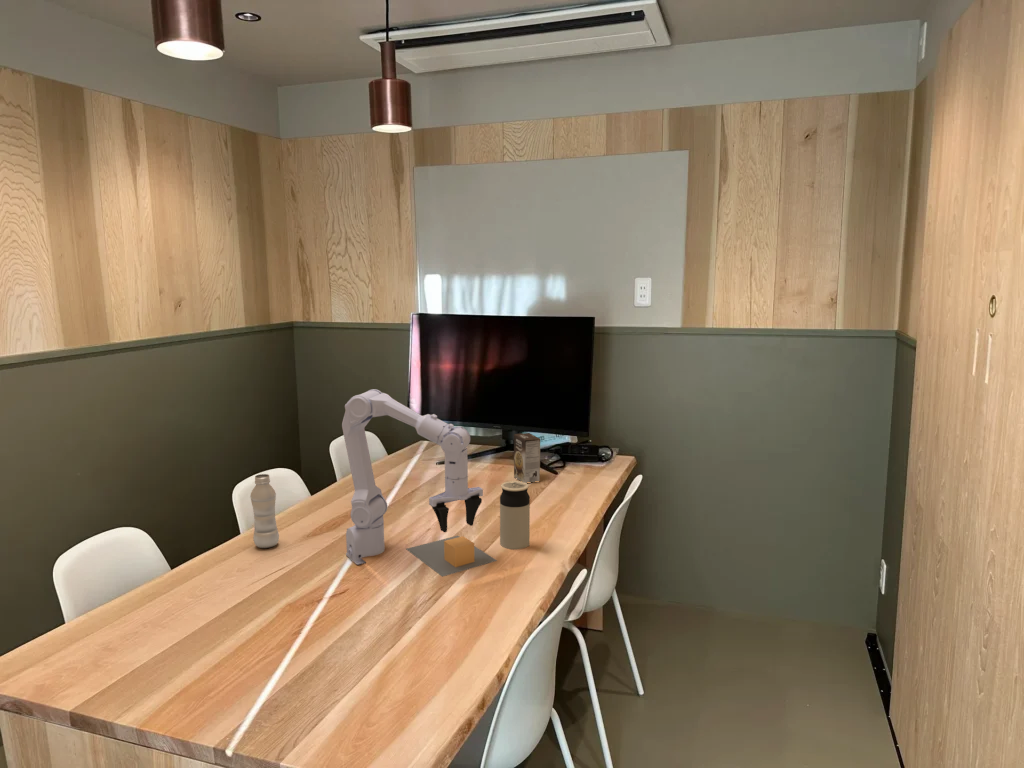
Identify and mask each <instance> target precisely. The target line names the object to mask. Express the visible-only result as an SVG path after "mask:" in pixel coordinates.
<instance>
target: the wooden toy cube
mask: <svg viewBox="0 0 1024 768" xmlns="http://www.w3.org/2000/svg"><path fill="white" fill-rule="evenodd" d="M474 546H475V542H473V541H471V540H470V539H469V538H466V537H465V536H464V535H462V536H459V537H458V538H454V539H450V540H446V541H444V559H445V560H446V561H447V562H449V563H450V564H452V565H453V566H454V567H458V566H461V565H465V564H469V563H472V562H474Z"/></svg>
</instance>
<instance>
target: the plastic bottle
mask: <svg viewBox="0 0 1024 768" xmlns="http://www.w3.org/2000/svg"><path fill="white" fill-rule="evenodd" d="M270 479H271V478H270V474H268V473H261V474H256V475H255V476H254V484H255V486H254V487H253V488H252V490H251V492H250V497H249V498H250V501H251V506H252V511H253V517H254V525H253V526H254V530H253V539H252V540H253V543H254V545H255V546H256V547H257V548H259V549H260V548H261V549H267V548H268V549H269V548H272V547H275V546H277V544H278V543H279V541H280V533H279V530H278V526H277V520H276V519H277V518H276V499H277V493H276V490H275V489H274V487H273V486H272V485H271V484H270V482H271V480H270Z"/></svg>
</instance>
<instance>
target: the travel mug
mask: <svg viewBox="0 0 1024 768" xmlns="http://www.w3.org/2000/svg"><path fill="white" fill-rule="evenodd" d="M500 487H501V490H502V492H501V494H500V496H499V524H500V525H499V544H500V546H501V548H504V549H508V550H522V549H526V548H527V547H530V529H531V527H530V525H531V524H530V523H531V521H530V518H531V517H530V513H531V512H530V509H531V507H530V506H531V504H530V502H531V501H530V500H531V499H530V498H531V496H530V494H529V493H528V489H529V487H530V485H529V484H527V483H525V482H521V481H519V480H510V481H508V480H507V481H505V482H503V483H501V485H500Z"/></svg>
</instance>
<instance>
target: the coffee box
mask: <svg viewBox="0 0 1024 768" xmlns="http://www.w3.org/2000/svg"><path fill="white" fill-rule="evenodd" d="M540 468H541V437H537V436H536V435H534V434H532V433H531V432H525V433H524V432H522V433H514V434H513V478H514V479H516V478H517V479H516V480H517V481H519V480H520V481H522V482H525V483H527V482H535V481H540V479H541V478H540V476H541V474H540V473H541V472H540V471H541V469H540ZM540 482H541V481H540Z"/></svg>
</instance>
